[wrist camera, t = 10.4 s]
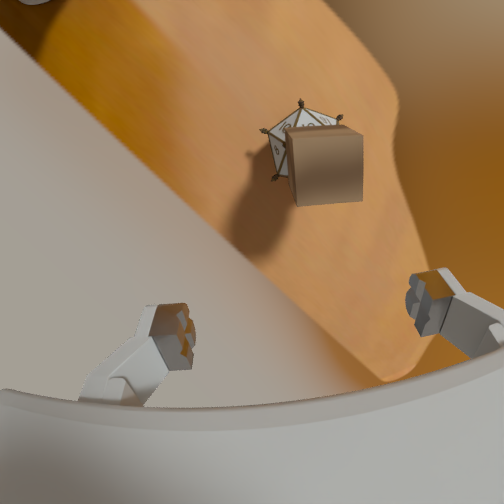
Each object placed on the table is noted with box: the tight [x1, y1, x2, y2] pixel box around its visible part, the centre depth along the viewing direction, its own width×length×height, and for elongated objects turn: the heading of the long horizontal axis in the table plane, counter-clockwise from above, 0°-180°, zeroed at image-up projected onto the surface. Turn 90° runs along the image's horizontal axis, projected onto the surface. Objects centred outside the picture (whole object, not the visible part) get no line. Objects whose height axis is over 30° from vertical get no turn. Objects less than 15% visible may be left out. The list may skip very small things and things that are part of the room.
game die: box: [259, 99, 343, 181], centre depth 29 cm, size 9×8×10 cm
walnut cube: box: [284, 125, 363, 207], centre depth 23 cm, size 5×5×5 cm
